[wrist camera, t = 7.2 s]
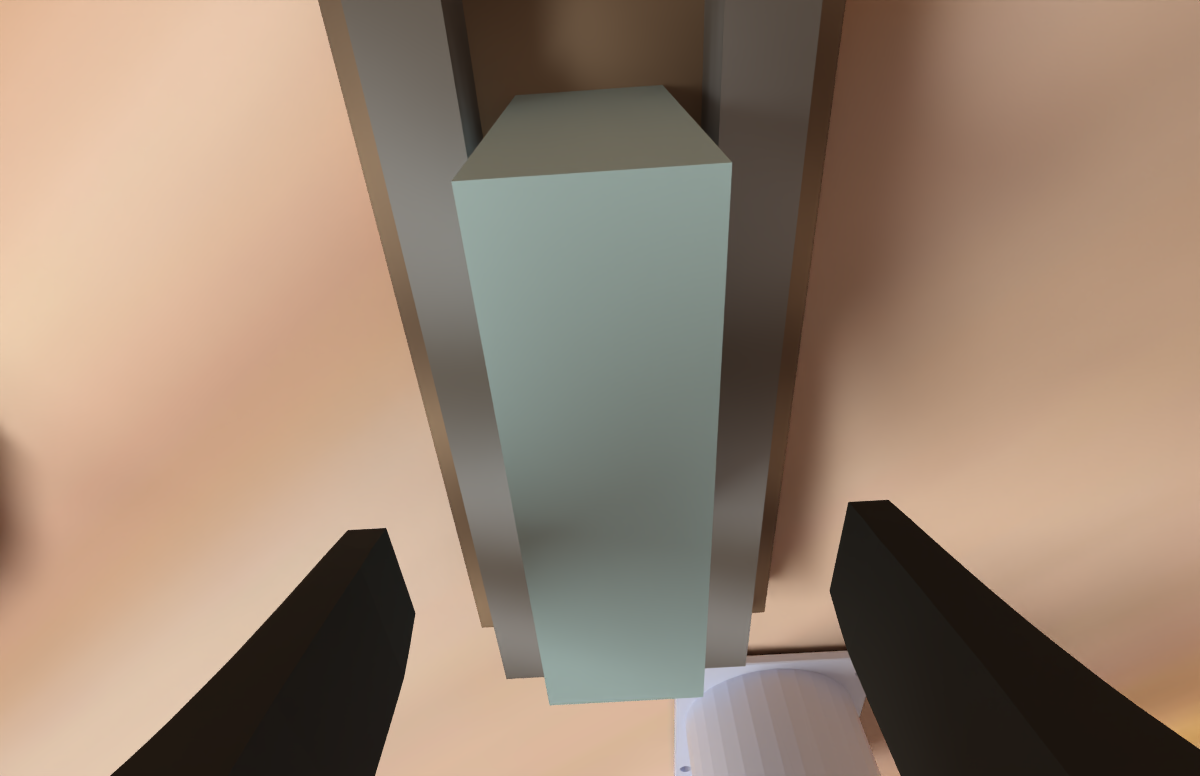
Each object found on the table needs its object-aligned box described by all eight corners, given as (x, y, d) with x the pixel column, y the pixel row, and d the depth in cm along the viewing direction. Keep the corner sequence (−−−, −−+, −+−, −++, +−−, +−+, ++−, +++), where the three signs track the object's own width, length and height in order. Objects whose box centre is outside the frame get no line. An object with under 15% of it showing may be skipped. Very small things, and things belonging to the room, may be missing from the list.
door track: (756, 584, 22) (779, 664, 20) (486, 599, 23) (473, 680, 20) (855, -258, 11) (946, -346, 8) (287, -214, 11) (188, -284, 8)
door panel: (515, 94, 12) (450, 181, 6) (662, 84, 12) (731, 161, 6) (562, 471, 18) (549, 705, 12) (664, 465, 18) (703, 697, 12)
